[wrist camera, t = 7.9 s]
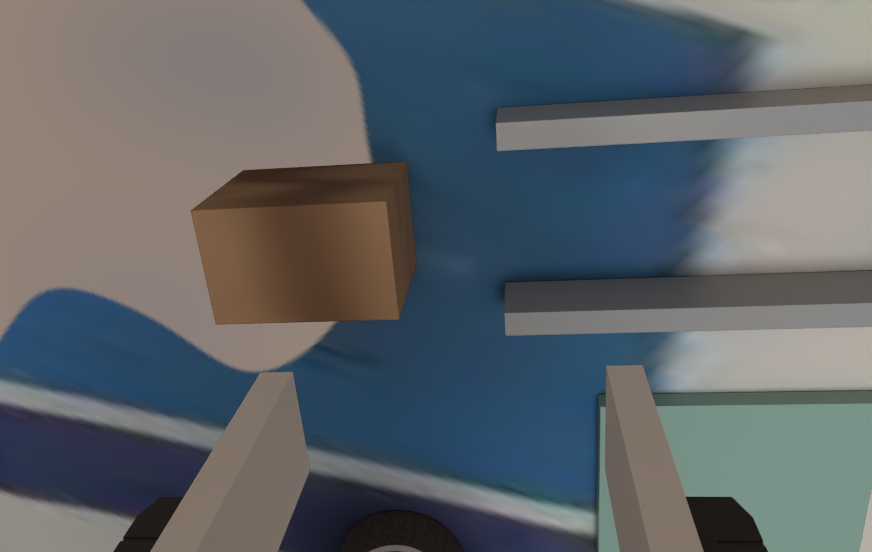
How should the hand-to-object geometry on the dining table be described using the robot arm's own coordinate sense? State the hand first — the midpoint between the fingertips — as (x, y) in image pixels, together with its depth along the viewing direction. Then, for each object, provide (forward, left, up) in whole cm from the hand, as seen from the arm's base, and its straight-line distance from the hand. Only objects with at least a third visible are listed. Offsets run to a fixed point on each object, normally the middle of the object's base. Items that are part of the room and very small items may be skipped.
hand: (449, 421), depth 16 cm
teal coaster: (+11, -15, -15) cm, 24 cm away
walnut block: (-6, 0, -15) cm, 16 cm away
